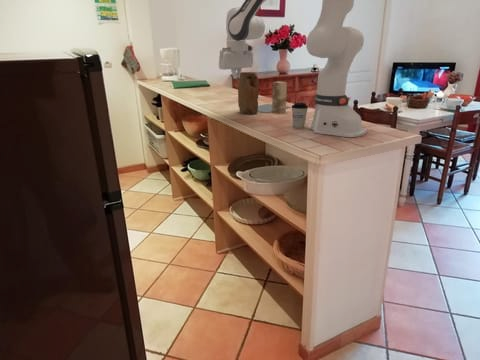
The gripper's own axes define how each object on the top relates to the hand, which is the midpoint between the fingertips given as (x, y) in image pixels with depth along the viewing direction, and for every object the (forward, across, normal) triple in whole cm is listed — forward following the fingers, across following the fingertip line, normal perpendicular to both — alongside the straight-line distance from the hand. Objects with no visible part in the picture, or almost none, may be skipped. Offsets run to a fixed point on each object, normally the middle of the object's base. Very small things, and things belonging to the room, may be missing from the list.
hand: (236, 78), depth 164 cm
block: (+18, +9, 0) cm, 20 cm away
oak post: (+18, +20, -11) cm, 29 cm away
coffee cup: (+18, -1, -37) cm, 41 cm away
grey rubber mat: (+18, +24, 0) cm, 30 cm away
